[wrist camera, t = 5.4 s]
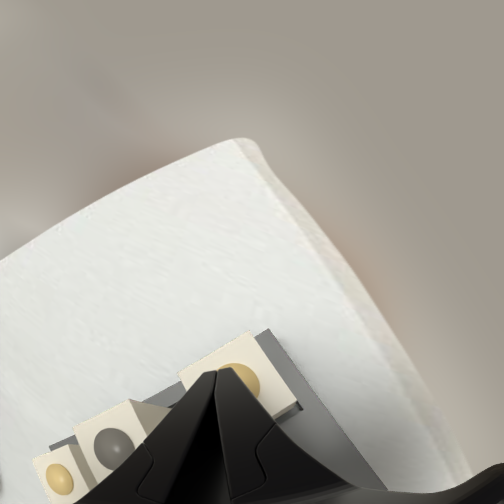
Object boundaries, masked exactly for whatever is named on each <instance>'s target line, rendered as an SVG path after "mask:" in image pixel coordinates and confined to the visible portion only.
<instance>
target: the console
mask: <svg viewBox="0 0 504 504" xmlns="http://www.w3.org/2000/svg"><path fill="white" fill-rule="evenodd" d="M254 338H255V340H256V341H257V343H258V344H259V346H260V347H261V349H262V350H263V352H264V353H265V355H266V356H267V357H268V359H269V360H270V362H271V363H272V365H273V366H274V368H275V369H276V371H277V372H278V373H279V375H280V376H281V378H282V379H283V381H284V382H285V383H286V385H287V386H288V388H289V389H290V391H291V392H292V393H293V395H294V396H295V398H296V399H297V402H296V404H295V406H294V408H292V409H290V410H289V411H287V412H286V413H284V414H283V415H281V416H279V417H278V418H276V419H275V421H276V422H277V424H279V425H280V427H281V428H282V429H283V430H284V431H285V432H286V433H287V434H288V435H289V436H290V437H291V439H292V440H293V441H294V442H295V443H297V444H298V445H299V446H300V447H301V448H303V449H304V450H305V451H306V452H307V453H309V454H310V455H311V456H313V457H314V458H315V459H317V460H318V461H319V462H321V463H322V464H323V465H325V466H326V467H328V468H329V469H330V470H332V471H333V472H335V473H336V474H337V475H339V476H340V477H342V478H343V479H345V480H346V481H348V482H350V483H352V484H354V485H357V486H360V487H363V488H369V489H376V490H385V491H387V490H388V489H387V488H386V486H385V485H384V484H383V483H382V481H381V480H380V479H379V477H378V476H377V475H376V474H375V472H374V471H373V470H372V468H371V467H370V466H369V465H368V463H367V462H366V461H365V459H364V458H363V457H362V455H361V454H360V453H359V451H358V450H357V449H356V448H355V446H354V445H353V444H352V442H351V441H350V440H349V438H348V437H347V436H346V434H345V433H344V432H343V430H342V429H341V428H340V426H339V425H338V424H337V422H336V421H335V420H334V418H333V417H332V416H331V414H330V413H329V411H328V410H327V409H326V407H325V406H324V405H323V403H322V402H321V401H320V399H319V398H318V397H317V395H316V394H315V392H314V391H313V390H312V388H311V387H310V386H309V384H308V383H307V381H306V380H305V379H304V377H303V376H302V374H301V373H300V372H299V370H298V369H297V368H296V366H295V365H294V363H293V362H292V361H291V359H290V358H289V356H288V355H287V354H286V352H285V351H284V349H283V348H282V347H281V345H280V344H279V342H278V341H277V339H276V338H275V337H274V335H273V334H272V332H271V331H270V330H269V328H268V329H267V330H265V331H263V332H262V333H260V334H259V335H257V336H255V337H254ZM186 392H187V391H186V389H185V387H184V385H183V383H182V382H181V381H179V382H178V383H176V384H174V385H172V386H170V387H168V388H167V389H165V390H163V391H161V392H159V393H157V394H156V395H154V396H152V397H150V398H148V399H146V400H144V401H142V402H143V403H148V404H152V405H157V406H162V407H167V408H173V407H174V406H175V405H176V403H177V402H178V401H179V400H180V399H181V398H182V396H183V395H184V394H185V393H186ZM67 444H73V445H79V443H78V440H77V438H76V436H75V435H73V436H71V437H69V438H66V439H64V440H62V441H60V442H57V443H55V444H53V445H51V446H49V448H50V450H51V451H53V450H55V449H58V448H60V447H63V446H65V445H67Z"/></svg>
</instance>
